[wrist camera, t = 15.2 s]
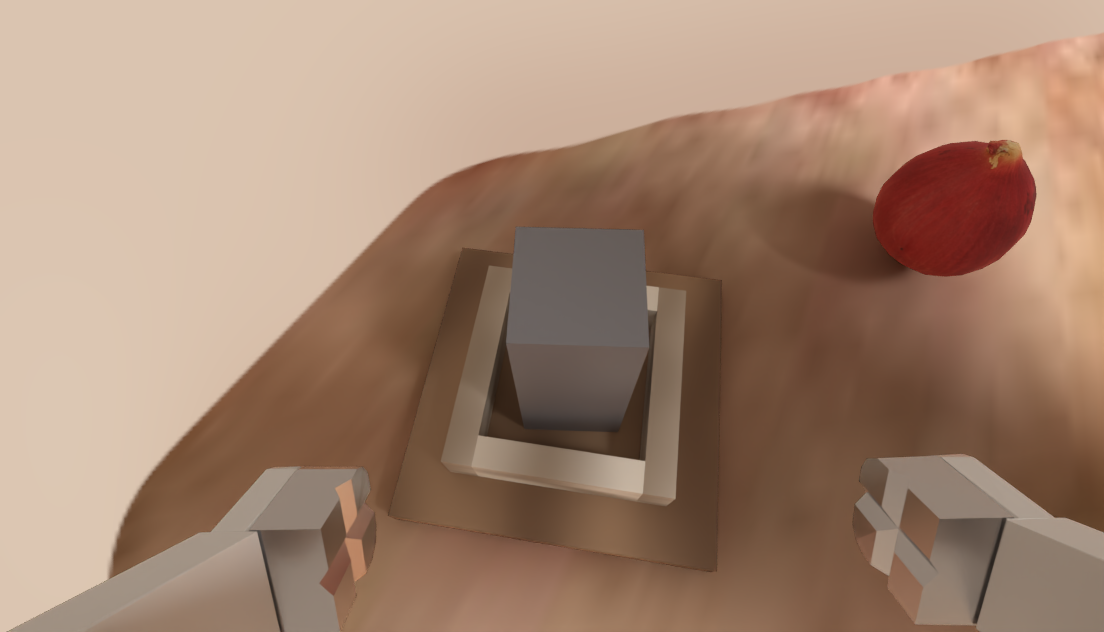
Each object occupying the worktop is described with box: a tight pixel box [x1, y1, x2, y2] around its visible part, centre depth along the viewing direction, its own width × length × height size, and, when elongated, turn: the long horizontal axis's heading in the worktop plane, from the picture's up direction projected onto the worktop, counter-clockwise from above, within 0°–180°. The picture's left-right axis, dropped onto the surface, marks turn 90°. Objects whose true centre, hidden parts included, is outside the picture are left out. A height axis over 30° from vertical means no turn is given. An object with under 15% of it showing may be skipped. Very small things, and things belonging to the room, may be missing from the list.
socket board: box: [388, 248, 722, 572], centre depth 24 cm, size 13×13×3 cm
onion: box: [873, 140, 1036, 276], centre depth 25 cm, size 6×6×8 cm
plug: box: [506, 227, 649, 432], centre depth 20 cm, size 4×4×9 cm
